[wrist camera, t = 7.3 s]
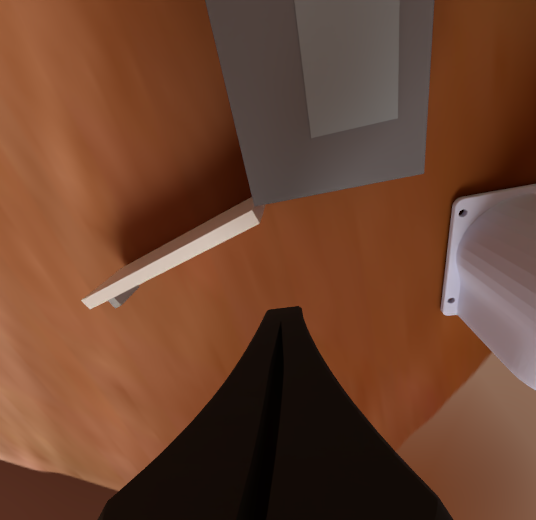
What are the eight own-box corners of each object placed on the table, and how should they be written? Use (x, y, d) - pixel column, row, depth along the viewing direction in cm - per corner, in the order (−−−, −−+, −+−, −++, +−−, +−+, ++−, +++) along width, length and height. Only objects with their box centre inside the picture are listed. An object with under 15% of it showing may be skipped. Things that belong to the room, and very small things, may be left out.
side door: (260, 192, 17) (251, 210, 13) (273, 215, 17) (268, 239, 13) (121, 268, 20) (80, 300, 16) (136, 285, 21) (101, 320, 17)
